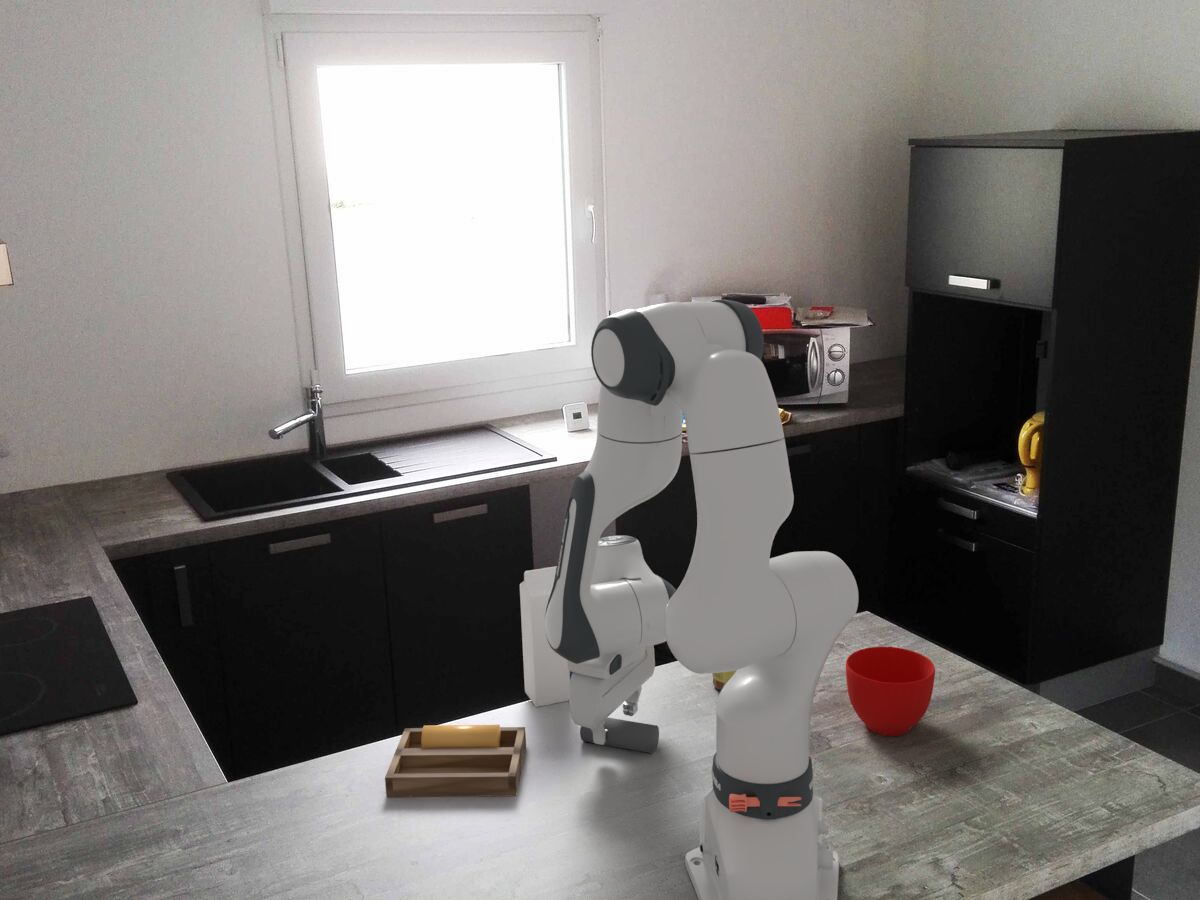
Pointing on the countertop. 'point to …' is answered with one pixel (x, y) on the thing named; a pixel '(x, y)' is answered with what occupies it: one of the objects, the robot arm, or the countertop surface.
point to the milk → (541, 642)
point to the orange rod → (461, 736)
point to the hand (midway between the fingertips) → (616, 727)
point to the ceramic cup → (889, 687)
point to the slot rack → (456, 767)
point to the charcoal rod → (627, 735)
